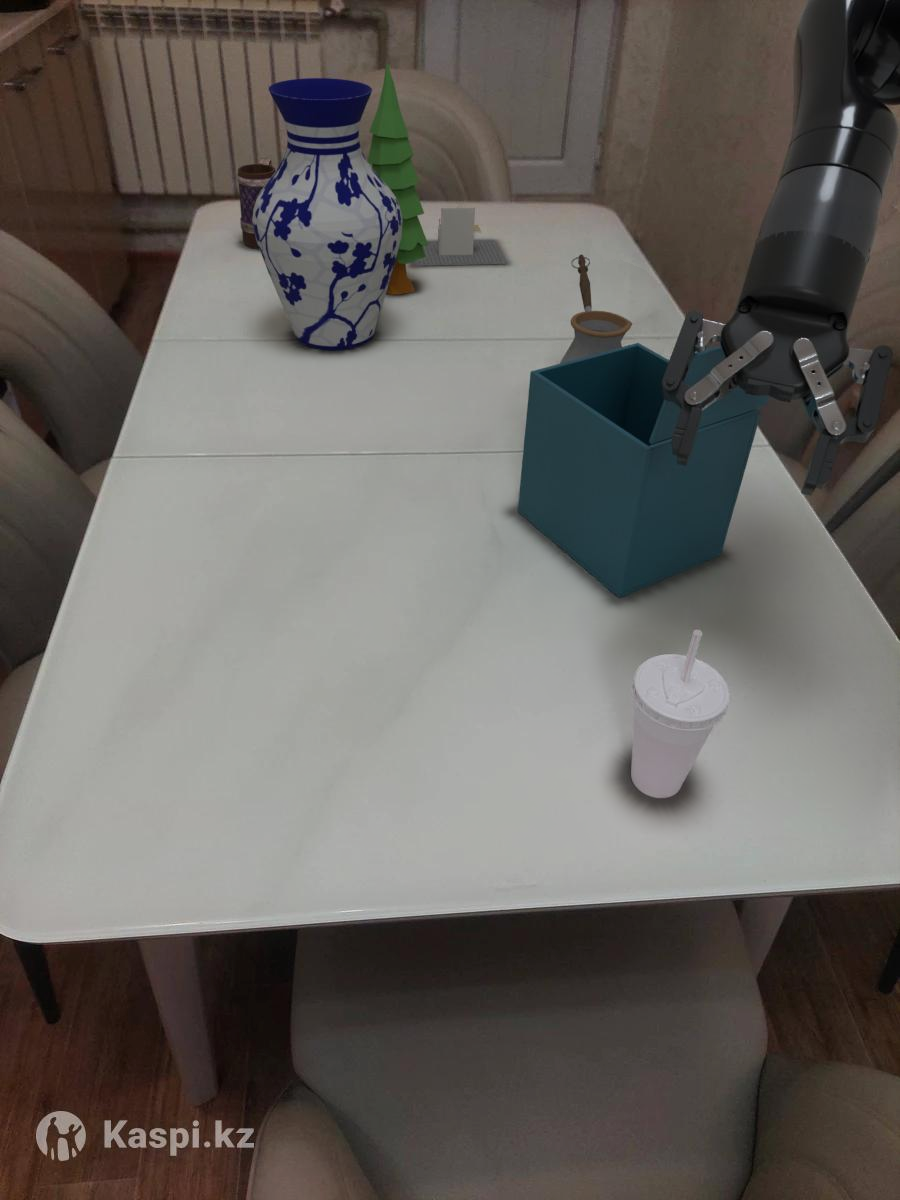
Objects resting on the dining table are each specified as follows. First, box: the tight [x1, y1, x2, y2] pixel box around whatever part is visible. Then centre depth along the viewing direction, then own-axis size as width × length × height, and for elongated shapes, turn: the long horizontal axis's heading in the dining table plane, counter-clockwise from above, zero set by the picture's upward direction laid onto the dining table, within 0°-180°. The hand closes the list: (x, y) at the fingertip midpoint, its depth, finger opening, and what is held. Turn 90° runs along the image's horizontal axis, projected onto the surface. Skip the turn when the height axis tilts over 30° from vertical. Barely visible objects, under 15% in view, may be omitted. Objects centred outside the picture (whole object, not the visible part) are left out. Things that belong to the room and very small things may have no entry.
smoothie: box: [630, 629, 731, 799], centre depth 61 cm, size 6×6×14 cm
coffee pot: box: [559, 254, 633, 364], centre depth 104 cm, size 21×12×15 cm, turn 2°
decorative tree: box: [367, 61, 429, 296], centre depth 127 cm, size 10×9×30 cm
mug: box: [237, 157, 276, 250], centre depth 148 cm, size 10×7×12 cm
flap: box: [649, 345, 770, 444], centre depth 70 cm, size 8×13×1 cm
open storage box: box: [517, 342, 762, 599], centre depth 84 cm, size 16×13×16 cm
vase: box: [252, 77, 403, 351], centre depth 113 cm, size 19×19×30 cm
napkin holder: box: [436, 204, 482, 256], centre depth 147 cm, size 3×7×7 cm, turn 98°
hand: (743, 477), depth 61 cm, fingers open, 8 cm apart
